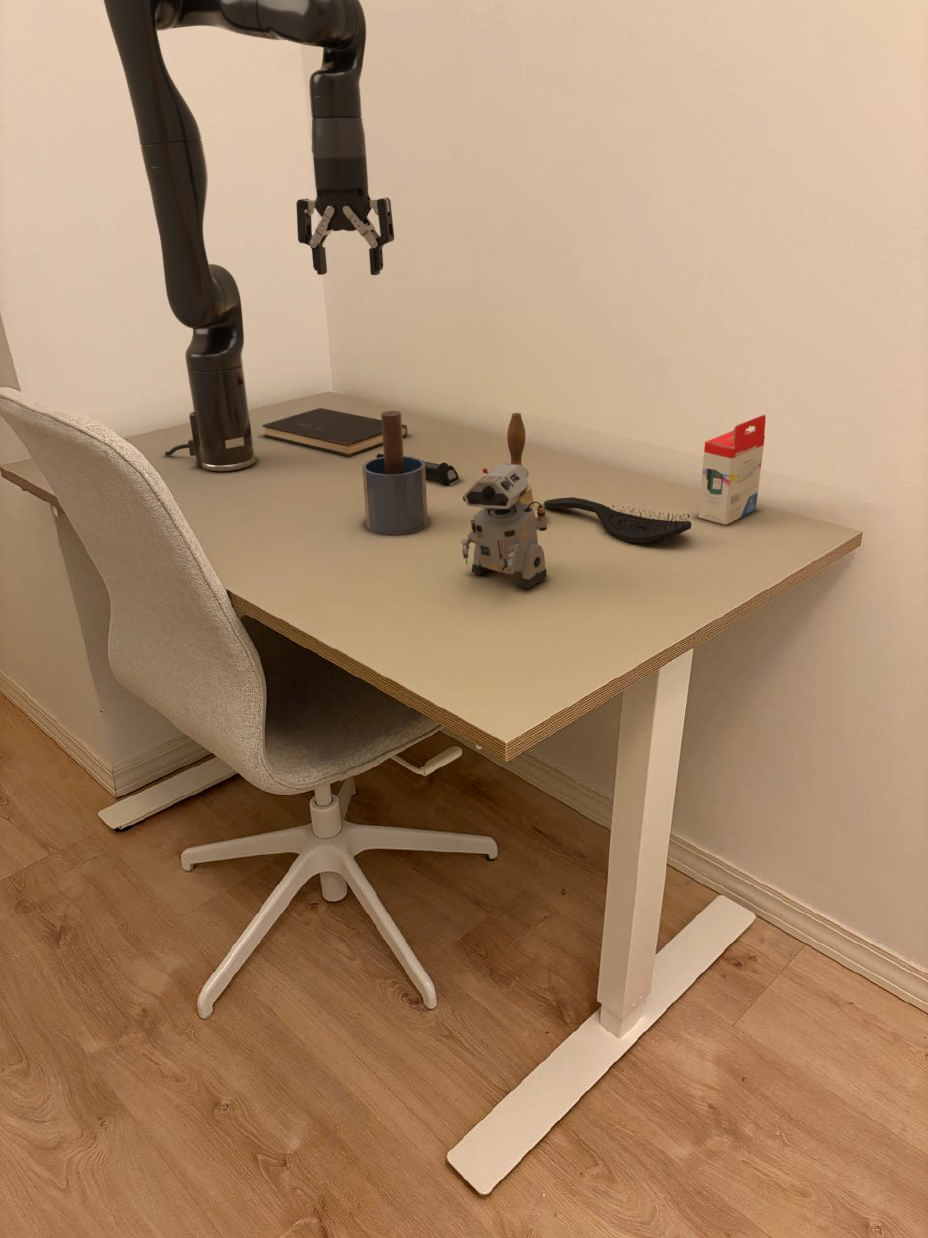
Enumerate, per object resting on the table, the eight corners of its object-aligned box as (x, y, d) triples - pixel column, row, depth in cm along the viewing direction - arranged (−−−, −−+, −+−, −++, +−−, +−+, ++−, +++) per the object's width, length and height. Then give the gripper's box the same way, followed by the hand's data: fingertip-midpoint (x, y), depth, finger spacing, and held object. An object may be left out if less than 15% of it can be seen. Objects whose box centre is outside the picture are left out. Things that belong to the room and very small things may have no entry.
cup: (357, 532, 141) (352, 473, 137) (379, 510, 149) (375, 454, 145) (416, 537, 139) (413, 477, 135) (435, 515, 147) (432, 457, 143)
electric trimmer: (385, 467, 169) (384, 449, 167) (460, 480, 161) (459, 461, 160) (372, 473, 166) (371, 455, 165) (447, 486, 158) (447, 467, 157)
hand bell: (479, 516, 146) (477, 411, 139) (529, 507, 149) (529, 404, 142) (503, 534, 139) (502, 425, 132) (554, 524, 142) (556, 417, 135)
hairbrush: (562, 481, 151) (704, 510, 134) (563, 504, 152) (703, 535, 136) (527, 495, 145) (670, 527, 129) (528, 518, 147) (670, 553, 131)
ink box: (728, 503, 148) (738, 408, 142) (757, 510, 145) (768, 413, 138) (696, 518, 143) (705, 420, 136) (726, 526, 140) (736, 426, 133)
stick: (385, 522, 143) (378, 415, 136) (391, 515, 145) (385, 410, 138) (403, 523, 142) (397, 416, 135) (409, 517, 145) (403, 411, 137)
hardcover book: (348, 456, 174) (347, 444, 173) (263, 436, 187) (261, 424, 186) (407, 435, 185) (407, 423, 184) (323, 418, 198) (322, 406, 197)
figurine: (444, 590, 123) (440, 477, 116) (497, 560, 131) (496, 452, 124) (503, 608, 118) (503, 490, 111) (554, 575, 126) (556, 464, 119)
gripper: (395, 151, 139) (401, 271, 146) (304, 153, 142) (314, 270, 150) (377, 153, 132) (384, 278, 140) (282, 155, 136) (294, 277, 143)
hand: (348, 274), depth 145 cm, fingers open, 8 cm apart
